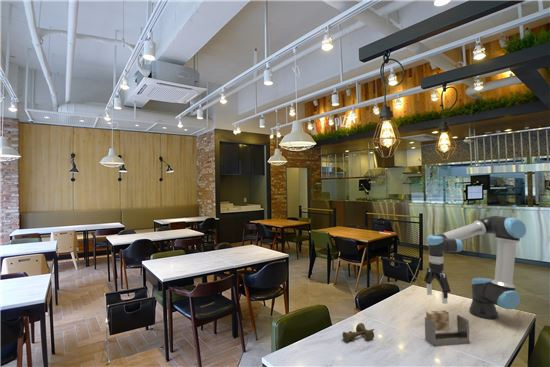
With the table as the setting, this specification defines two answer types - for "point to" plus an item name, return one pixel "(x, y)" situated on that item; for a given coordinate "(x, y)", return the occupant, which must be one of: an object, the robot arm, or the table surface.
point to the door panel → (439, 319)
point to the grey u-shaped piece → (448, 337)
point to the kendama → (359, 333)
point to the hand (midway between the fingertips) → (436, 298)
